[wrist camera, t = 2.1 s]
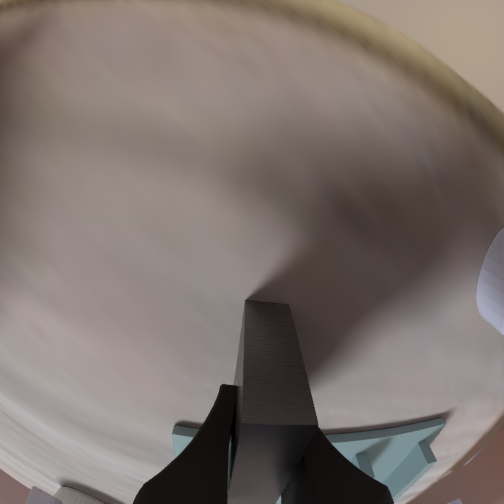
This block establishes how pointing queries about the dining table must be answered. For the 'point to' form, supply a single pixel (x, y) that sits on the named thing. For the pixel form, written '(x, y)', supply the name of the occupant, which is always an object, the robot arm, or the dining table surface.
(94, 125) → the dining table surface
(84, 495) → the ramekin
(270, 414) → the panel
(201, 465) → the robot arm
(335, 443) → the slot rack
